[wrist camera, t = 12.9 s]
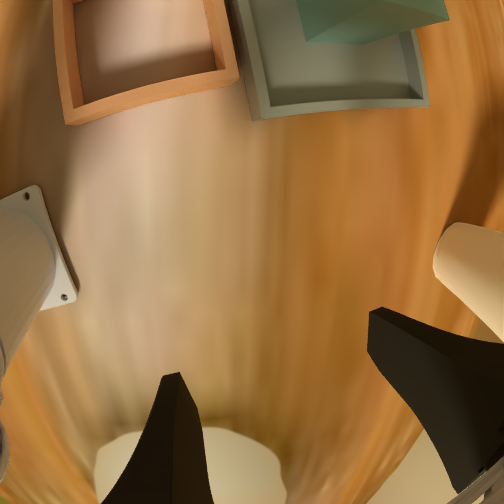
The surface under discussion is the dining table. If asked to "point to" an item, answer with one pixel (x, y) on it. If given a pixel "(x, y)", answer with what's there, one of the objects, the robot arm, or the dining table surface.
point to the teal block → (365, 18)
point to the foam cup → (474, 270)
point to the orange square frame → (143, 95)
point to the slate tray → (321, 66)
